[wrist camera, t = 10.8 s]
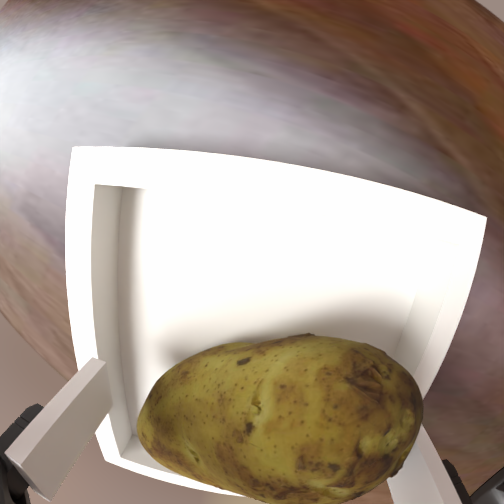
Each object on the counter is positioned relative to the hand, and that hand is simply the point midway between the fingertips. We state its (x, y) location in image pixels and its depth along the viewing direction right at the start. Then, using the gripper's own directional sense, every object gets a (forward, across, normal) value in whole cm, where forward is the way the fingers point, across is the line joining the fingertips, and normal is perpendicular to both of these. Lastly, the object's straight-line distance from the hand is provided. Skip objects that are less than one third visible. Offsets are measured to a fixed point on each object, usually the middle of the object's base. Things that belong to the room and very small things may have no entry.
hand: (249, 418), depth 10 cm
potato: (+4, 0, 0) cm, 4 cm away
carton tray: (+5, 0, 0) cm, 5 cm away
